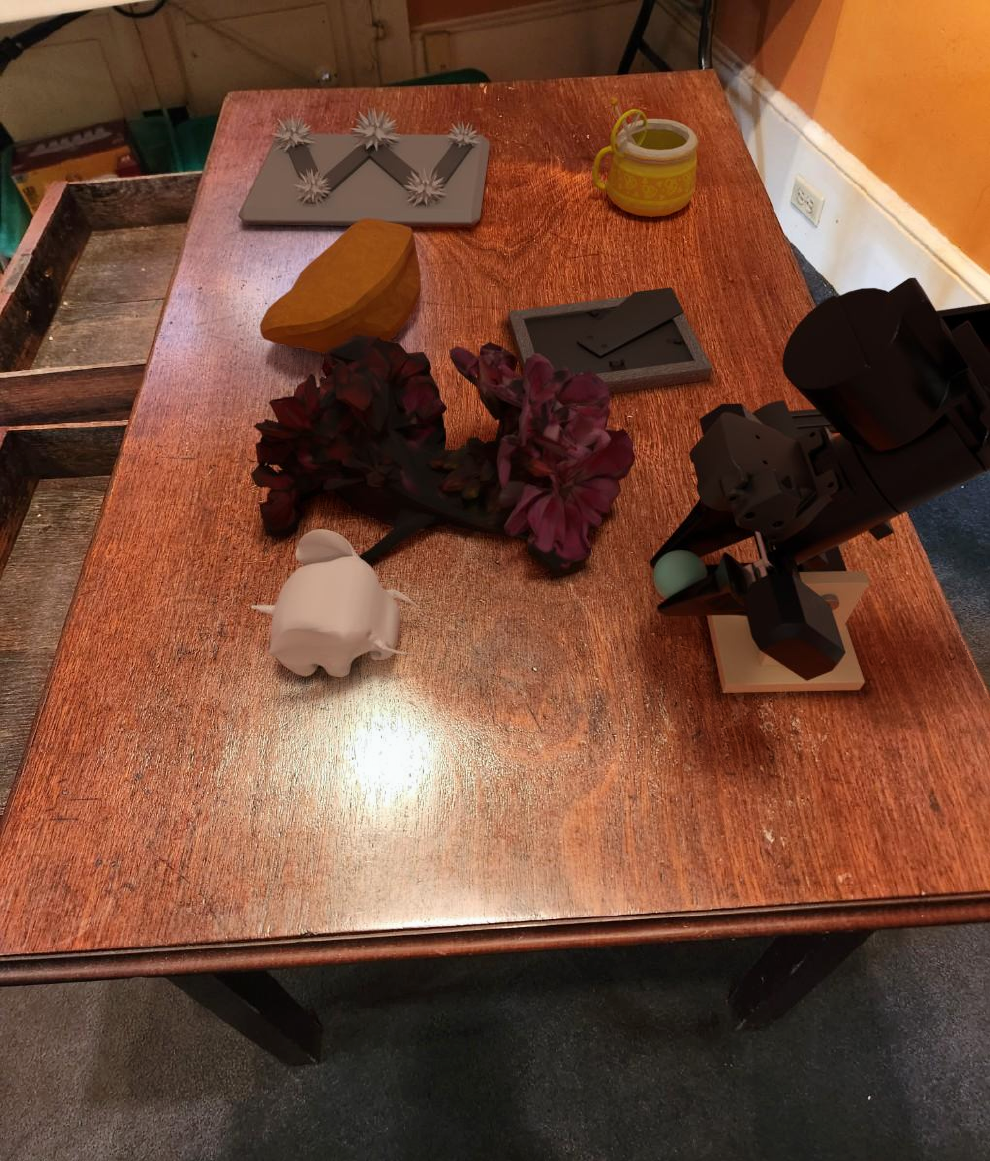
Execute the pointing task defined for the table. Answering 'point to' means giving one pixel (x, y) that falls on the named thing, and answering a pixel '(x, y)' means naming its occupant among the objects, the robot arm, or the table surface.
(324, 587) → the elephant figurine
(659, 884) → the table surface
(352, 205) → the decorative plate
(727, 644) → the bracket
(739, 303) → the table surface
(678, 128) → the mug
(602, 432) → the flower arrangement
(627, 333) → the picture frame
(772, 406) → the end cap
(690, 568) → the lever
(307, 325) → the bread
